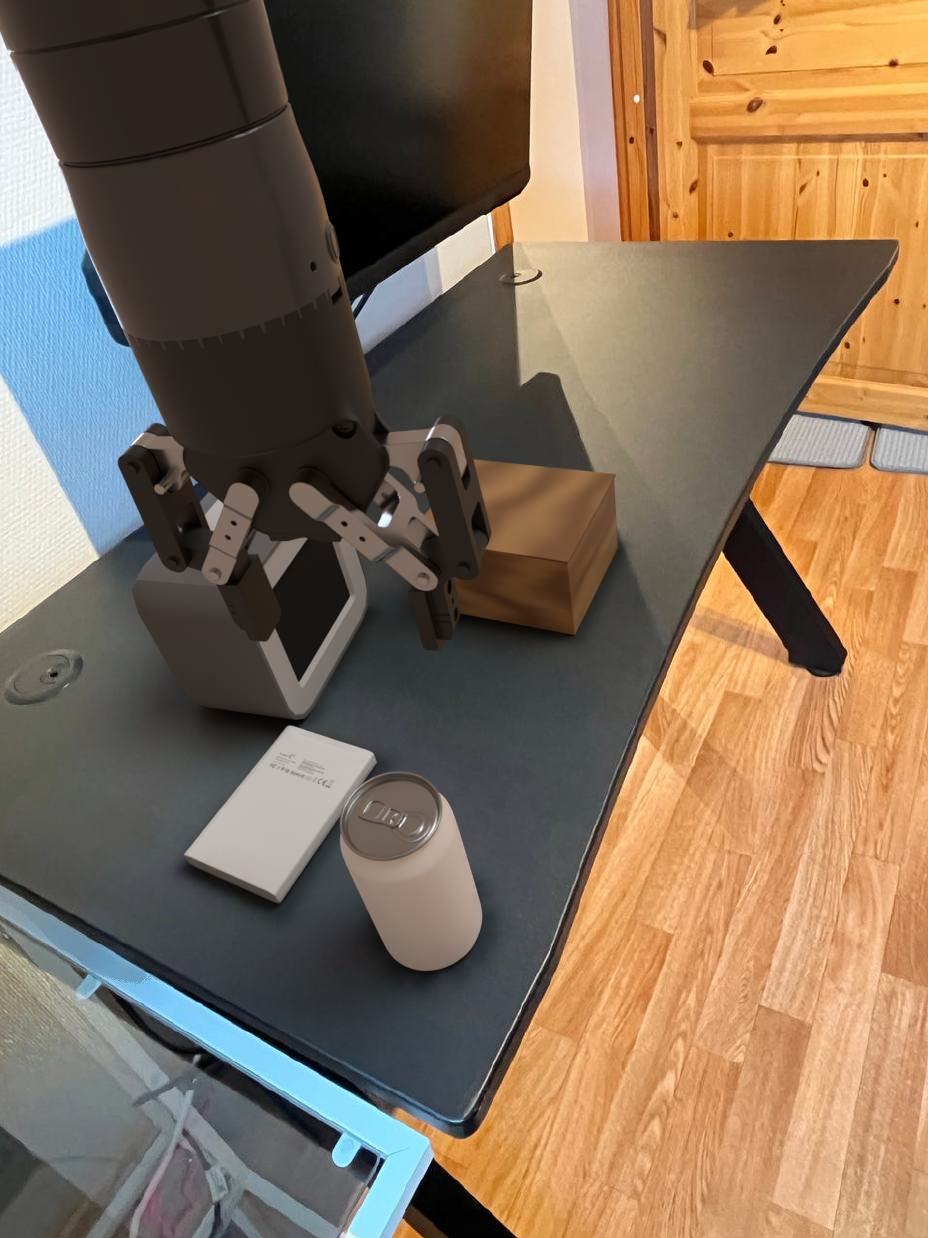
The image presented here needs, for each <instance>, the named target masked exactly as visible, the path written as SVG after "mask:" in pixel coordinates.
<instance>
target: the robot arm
mask: <svg viewBox="0 0 928 1238" xmlns="http://www.w3.org/2000/svg"><path fill="white" fill-rule="evenodd" d="M268 17H269V16H268V13H267V10H266V6H265V2H264V0H0V36H1V38H2V40H3V43H4V46H5V48H6V50H7V51H8V52H10V53H9V57H10V60H11V63H12V64H13V66H14V68H15V70H16V73H17V75H18V77H19V79H20V82H21V84H22V86H23V88H24V91H25V93H26V95H27V98H28V101H29V102H30V105H31V107H32V109H33V112H34V114H35V116H36V118H37V120H38V122H39V125H40V128H41V129H42V132H43V134H44V136H45V138H46V141H47V143H48V145H49V147H50V149H51V152H52V154H53V156H54V158H55V159H57V160H58V162H57V164H58V167H59V170H60V173H61V175H62V178H63V180H64V183H65V185H66V188H67V192H68V195H69V198H70V201H71V204H72V208H73V211H74V214H75V215H74V216H75V218H76V221H77V222H76V223H77V225H78V228H79V231H80V234H81V237H82V240H83V243H84V245H85V248H86V251H87V253H88V256H89V258H90V260H91V263H92V265H93V268H94V269H95V272H96V274H97V277H98V278H99V280H100V283H101V285H102V287H103V290H104V292H105V293H106V296H107V299H108V301H109V303H110V305H111V307H112V309H113V312H114V314H115V316H116V318H117V320H118V323H119V325H120V328H121V330H122V332H123V334H124V336H125V338H126V341H127V343H128V345H129V347H130V349H131V351H132V354H133V356H134V359H135V360H136V364H137V365H138V367H139V370H140V371H141V374H142V377H143V378H144V380H145V383H146V384H147V385H146V386H147V387H148V389H149V391H150V394H151V396H152V398H153V400H154V403H155V405H156V407H157V409H158V411H159V414H160V416H161V418H162V420H163V422H164V424H163V423H160V422H153V423H150V424H149V425H148V426H147V427H146V429H144V431H142V433H141V434H140V435H138V437H137V438H136V439H135V440H133V442H132V443H131V444H130V445H129V446H128V448H127V449H126V450H124V451H123V453H122V454H121V455H120V456H119V457H118V459H117V466H118V469H119V472H120V474H121V476H122V478H123V480H124V482H125V485H126V487H127V489H128V491H129V493H130V496H131V498H132V500H133V502H134V505H135V507H136V509H137V512H138V514H139V515H140V519H141V520H142V522H143V524H144V526H145V529H146V532H147V534H148V535H149V538H150V540H151V542H152V544H153V547H154V550H155V552H156V551H157V553H158V556H159V558H160V560H161V562H162V564H163V565H164V566H165V567H166V568H168V569H169V570H171V571H173V572H183V571H185V569H186V568H187V567H189V568H193V569H196V570H199V571H202V573H203V575H204V577H205V578H206V579H207V580H208V581H210V582H211V583H214V584H216V585H217V587H218V589H219V591H220V593H221V595H222V598H223V600H224V602H225V604H226V605H227V608H228V610H229V612H230V615H231V617H232V619H233V621H234V622H235V624H236V625H237V626H238V627H239V628H240V629H241V630H245V632H246V634H247V636H248V638H249V640H250V641H259V642H266V641H268V640H269V638H270V636H271V634H272V633H273V631H274V629H275V627H276V626H277V624H278V622H279V620H280V616H281V609H280V606H279V604H278V601H277V599H276V596H275V594H274V592H273V589H272V587H271V584H270V582H269V580H268V577H267V575H266V572H265V570H264V568H263V565H262V563H261V560H260V558H259V556H258V554H248V552H247V551H248V549H249V548H250V546H251V544H252V542H253V539H254V537H255V535H256V533H257V531H259V532H261V533H263V534H266V535H268V536H269V538H270V541H291V540H295V539H299V538H308V539H313V540H317V541H322V542H341V540H342V538H344V539H345V540H346V541H347V542H348V543H350V544H351V545H352V546H353V547H354V548H355V549H357V550H358V551H359V552H360V553H361V555H362V556H364V557H365V558H366V559H367V560H369V561H370V562H372V563H380V562H383V563H386V565H388V566H389V567H390V568H391V569H392V570H394V571H395V572H396V573H397V574H398V575H399V576H401V578H403V579H404V580H405V581H407V582H408V584H410V586H409V588H408V590H407V593H408V597H409V599H410V604H411V608H412V611H413V614H414V615H413V616H414V618H415V622H416V626H417V630H418V632H419V636H420V640H421V643H422V647H423V650H424V651H429V652H430V651H431V652H442V651H443V649H444V646H445V645H446V641H452V640H453V637H454V633H455V630H456V627H457V624H458V621H459V619H460V616H461V614H460V612H461V607H460V602H459V598H458V594H457V589H456V585H455V580H454V577H456V578H458V579H461V580H472V579H474V578H476V577H477V575H478V573H479V570H480V567H481V560H482V558H483V555H484V552H485V549H486V546H487V545H488V543H489V540H490V537H491V533H492V532H491V528H490V524H489V520H488V516H487V512H486V508H485V504H484V500H483V496H482V492H481V488H480V484H479V480H478V476H477V472H476V468H475V464H474V460H475V459H474V456H473V452H472V448H471V443H470V440H469V436H468V432H467V428H466V425H465V423H464V421H463V420H462V419H461V418H460V417H458V416H456V415H454V414H451V413H450V414H449V413H448V414H447V413H445V414H442V415H439V416H438V417H437V418H436V419H435V422H434V423H433V425H432V427H431V428H421V429H410V430H399V431H392V430H391V428H390V427H389V426H388V425H387V424H386V422H385V421H384V420H383V419H382V417H381V416H380V414H379V413H378V411H377V409H376V407H375V404H374V398H373V393H372V385H371V379H370V373H369V370H368V369H369V368H368V367H367V366H368V365H367V362H366V359H365V354H364V351H363V347H362V343H361V339H360V334H359V331H358V326H357V323H356V320H355V316H354V312H353V308H352V304H351V300H350V296H349V292H348V288H347V284H346V281H345V280H346V279H345V277H344V272H343V269H342V264H341V262H340V247H339V241H338V237H337V234H336V230H335V227H334V226H333V224H332V223H331V221H330V219H329V215H328V211H327V207H326V203H325V200H324V199H325V198H324V195H323V192H322V189H321V185H320V182H319V179H318V176H317V173H316V171H315V168H314V165H313V162H312V160H311V157H310V155H309V152H308V150H307V147H306V145H305V142H304V140H303V137H302V135H301V132H300V129H299V127H298V124H297V120H296V118H295V114H294V111H293V108H292V105H291V103H290V102H289V93H288V89H287V86H286V81H285V78H284V74H283V70H282V66H281V63H280V59H279V55H278V51H277V47H276V43H275V40H274V36H273V33H272V29H271V25H270V21H269V18H268ZM473 459H474V460H473ZM391 467H394V468H398V469H400V470H402V471H404V473H406V475H407V476H408V478H409V479H410V482H411V483H412V484H413V486H412V487H413V490H414V491H415V492H416V493H417V494H425V495H426V498H427V501H428V504H429V508H431V511H432V514H433V518H434V521H435V524H436V525H435V524H434V523H433V522H431V521H430V520H429V519H428V518H427V517H426V516H425V513H423V512H421V510H420V508H419V506H418V502H417V499H416V497H415V495H414V494H413V493H412V492H411V491H410V490H408V488H406V487H405V486H403V484H402V483H401V482H399V481H398V480H397V479H396V478H395V477H394V476H393V475H392V474H390V473H389V471H390V469H391ZM192 479H193V480H194V481H195V482H196V483H198V484H199V485H200V486H201V487H202V488H204V490H206V491H207V492H210V493H211V494H212V495H213V496H215V497H216V498H217V499H218V500H219V501H221V502H222V503H223V505H224V506H223V509H222V511H221V514H220V517H219V519H218V522H217V524H216V527H215V530H214V531H212V530H210V527H209V525H208V522H207V520H206V517H205V514H204V512H203V509H202V507H201V504H200V499H199V497H198V494H197V492H196V489H195V486H194V484H193V480H192ZM373 502H374V503H375V504H376V505H377V506H378V507H379V509H380V511H381V517H380V519H379V521H378V523H376V522H374V521H373V520H372V519H371V518H370V517H369V516H367V515H366V514H367V512H368V511H369V509H370V507H371V505H372V503H373ZM178 526H179V528H180V529H179V528H178ZM411 543H412V544H413V545H414V546H415V547H417V548H418V549H419V550H417V549H416V548H415V547H413V546H412V545H411Z"/></svg>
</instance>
